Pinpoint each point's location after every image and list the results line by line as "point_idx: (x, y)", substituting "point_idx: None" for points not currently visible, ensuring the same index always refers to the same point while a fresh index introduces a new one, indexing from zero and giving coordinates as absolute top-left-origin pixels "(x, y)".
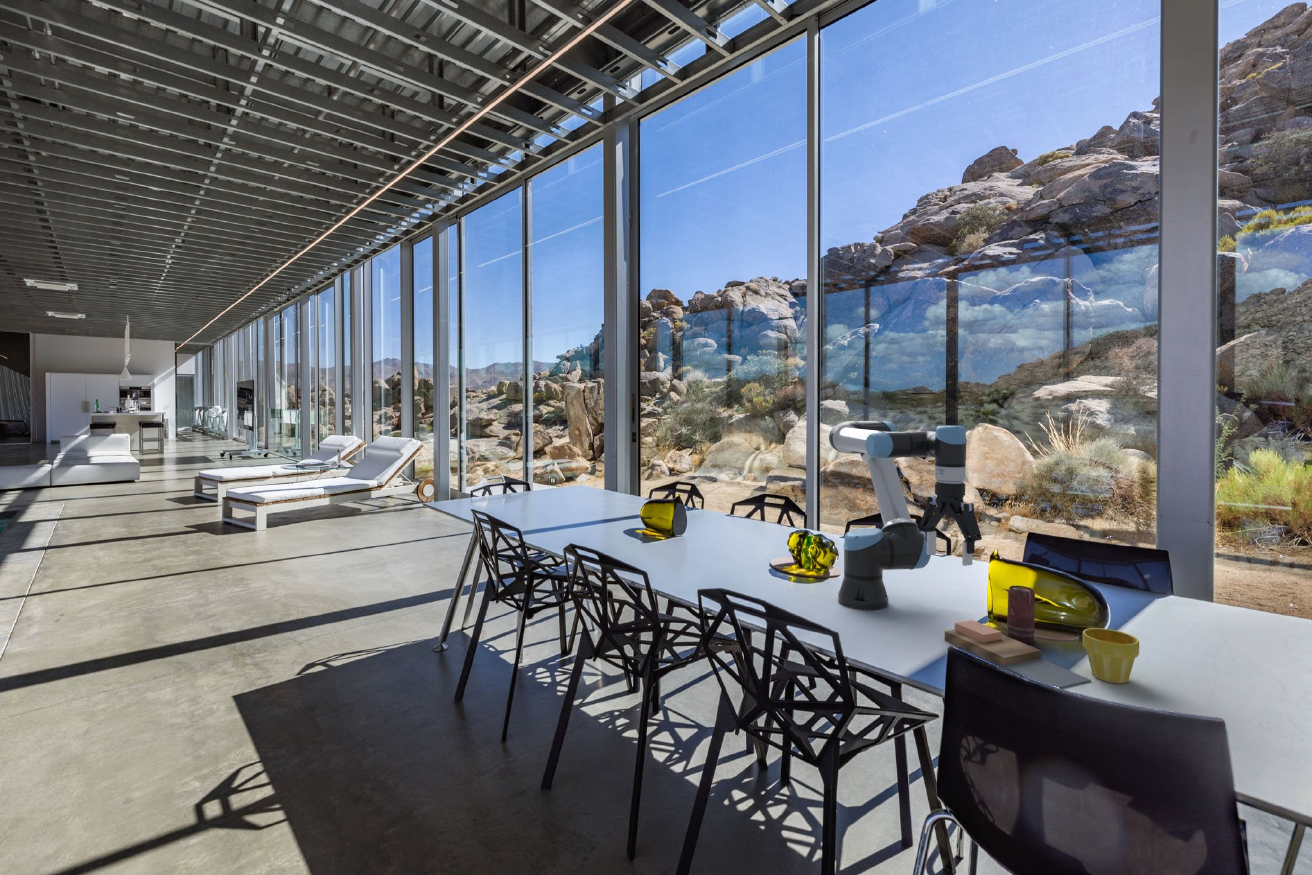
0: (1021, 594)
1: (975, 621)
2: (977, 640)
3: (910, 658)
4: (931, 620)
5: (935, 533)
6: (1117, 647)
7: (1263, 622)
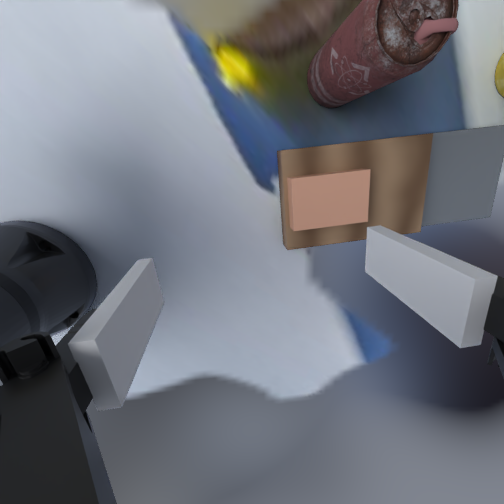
0: (431, 60)
1: (301, 178)
2: None
3: (325, 336)
4: (178, 196)
5: (107, 336)
6: None
7: None
